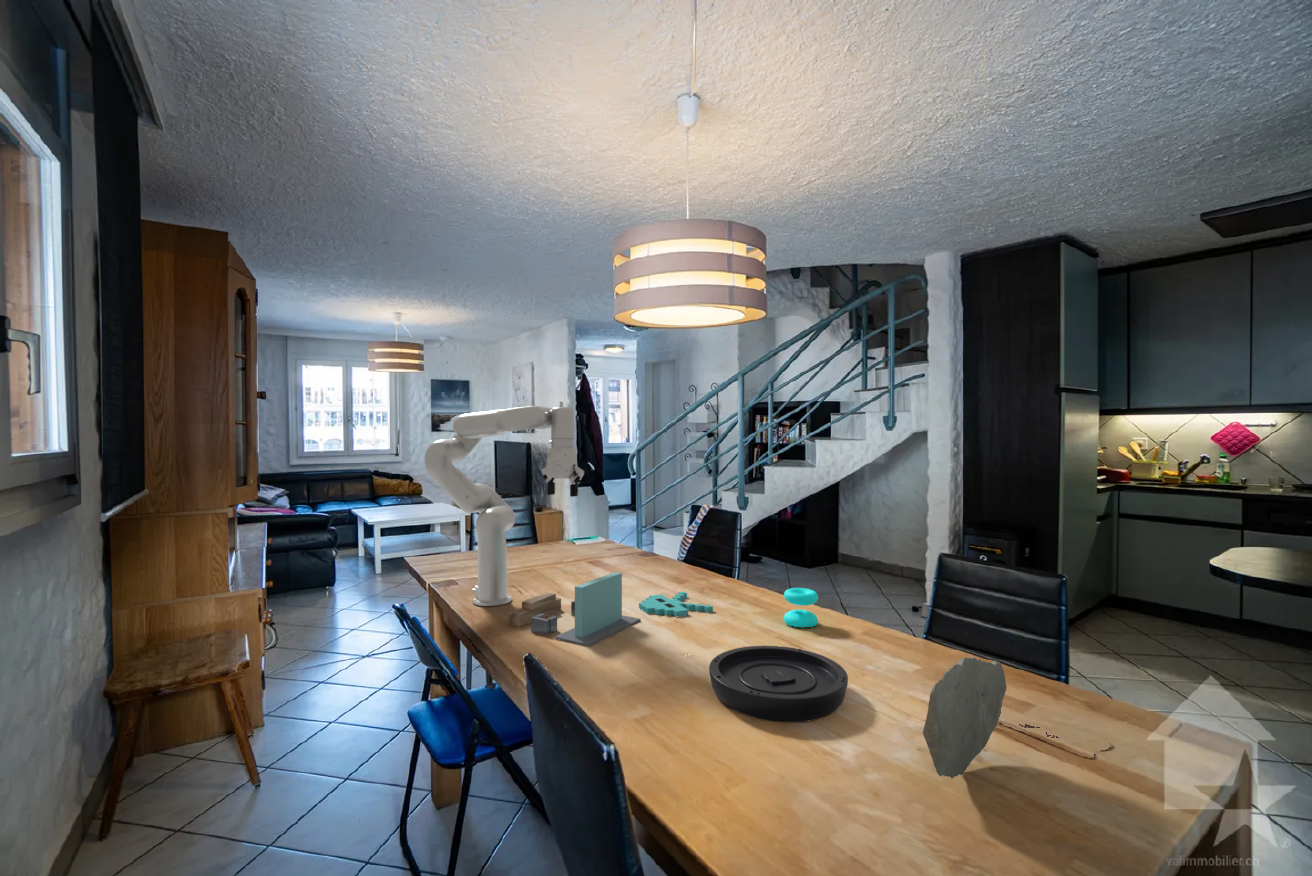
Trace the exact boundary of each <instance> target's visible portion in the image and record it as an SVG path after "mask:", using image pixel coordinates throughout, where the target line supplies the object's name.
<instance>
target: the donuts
mask: <svg viewBox="0 0 1312 876" xmlns="http://www.w3.org/2000/svg"><path fill="white" fill-rule="evenodd" d="M783 598H784V599H785V601H786V602H788V603H789V604H792V605H796V606H802V607H803V606H805V607H806V606H811V605H814V604H815V603H816V602H817V601H818V599H819V595H818V593H817V591H815V590H813V589H810V588H804V587H792V588H788V589H786V590H785V591H784V593H783ZM783 621H784V623H785V625H788V626H789V627H792V626H794V627H793V628H796V627H801V628H800V629H805V628H804V627H811V628H814V627H816V626H817V625H818V623H819V617H818V616H817V615H816V614H815V613H814V612H812V611H810V610H805V609H793V610H789V611H787V612H786V613H785V614H784V616H783ZM813 626H814V627H813ZM802 627H803V628H802Z"/></svg>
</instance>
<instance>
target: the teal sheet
mask: <svg viewBox="0 0 1312 876" xmlns="http://www.w3.org/2000/svg"><path fill="white" fill-rule="evenodd" d="M622 585H623V573H622V572H617V571H615V572H612V573H608V574H606V575H603V576H601V577H598V578H594V579H591V580H589V581H586V582H584V583H581V584H578V585H575V586H574V601H575V615H574V628H575V637H579V638H583V637H585V636H587V635H589V634H591V633H593V632H596V631H598V630H600V629H602V628H604V627H606V626H608V625H610V624H612V623H614V622H616V621H618V620H620V619H622V615H623V607H622V606H623V601H622V600H623V586H622Z"/></svg>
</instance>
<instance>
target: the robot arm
mask: <svg viewBox="0 0 1312 876" xmlns="http://www.w3.org/2000/svg"><path fill="white" fill-rule="evenodd" d="M574 414H575V413H574V408H572V407H570V406H555V407H547V406H540V405H527V406H520V407H512V408H505V409H504V408H503V409H500V408H499V409H493V410H487V411H479V412H478V411H477V412H468V413H463V414H460V415H458V416H457V417H455V419H454V420H453V422H452V430H453V432H454V435H453V436H452V437H451V438H447V439H446V438H444V439H443V438H442V439H438V440H435V441H433V442H431V443H430V444H429V445H428V447H427V448H426V449H425V450H426V451H425V453H424V466H425V470H426V472H427V473H428V475H429V477H431V479H432V480H433V481H434V482H435V483H436V484H437V485H438V486H439V487H440V488H441V489H442V491H444V493H445V494H446V495H447V496H448V497H449V498H450V499H451V500H452V501H453V503H455V504H456V506H457V507H458V508H459V509H461V510H462V511H463V512H464V513H467V514H473V513H479V514H478V515H477V518H476V519H475V525H474V526H475V535H476V540H477V585H474V587H473V588H471V590H470V591H471V593H474V594H475V597H474V598H473V599H472V603H473V604H474V605H475V606H480V607H496V606H503V605H506V604H508V603H510V602H511V601H512V600H513V599H512V596H511V594H509V593H508V551H507V550H508V546H507V540H506V539H507V538H506V532H507V531H510V529H511V528H512V527H514V525H515V522H516V515H515V512H514V511H513V508H511V506H509V504H508V503H507V502H506V501H505V500H504V499H503V498H502V497H501V495H499V494H498V493H497V492H496V490H494V489H493V488H492V487H490V486H489V485H488V484H485V483H481V482H479V483H473V482H472V480H470V479H469V478H468V477H467V476H466V475H465V473H464V472H462V471H461V469H458V468H457V467H456V466H454V464H458V463H460V462H462V461H463V460H465V459H466V458H467V457H468V456H469V454H471V452H472V451H473V450H474V449H475V447H476V446H477V445H478V444H479V443H480V442H481V440H482V439H483V438H485V437H492V436H494V437H495V436H501V435H505V434H506V433H511V432H518V431H527V430H545V429H550V440H549V442H548V443H549V444H548V445H550V448H548V451H547V457H546V465H545V467H543V468H541V474H542V476H543V479H544V480H545V483H546V484H547V486H546V488H547V490H546V492H547V493H546V494H547V495H548V496H553V495H556V483H555V482H554V481H555V480H556V479H568V480H569V481H570V483H571V484H570V485H569V491H570V492H569V496H570V497H577V496H578V495H579V494H578V493H579V484H580V482H581V481H582V480H583V477H584V475H585V470H584V469H581V468H580V467H579V466H578V460H577V459H578V458H577V451H576V448H575V441H574V440H575V439H574V438H575V432H574V431H575V428H574V427H575V415H574Z"/></svg>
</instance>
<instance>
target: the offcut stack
mask: <svg viewBox="0 0 1312 876" xmlns="http://www.w3.org/2000/svg"><path fill="white" fill-rule="evenodd" d="M559 610H560V611H561V610H562V598H561V597H557V593H552V592H545V593H542V594H539V595H536V596H534V597H530V598H528V599H525V600H523V601H521V607H520V608H517V609H515V610H513V611H510V612H508V626H512V627H515V626H517V627H516V628H521V627H524V626H526V625H528V624H531V617H535V616H536V615H539V614H545V617H547V616H546V615H548V616H550V615H552V614H555V613H557V612H560V611H559ZM554 612H555V613H554ZM520 626H521V627H520Z"/></svg>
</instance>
